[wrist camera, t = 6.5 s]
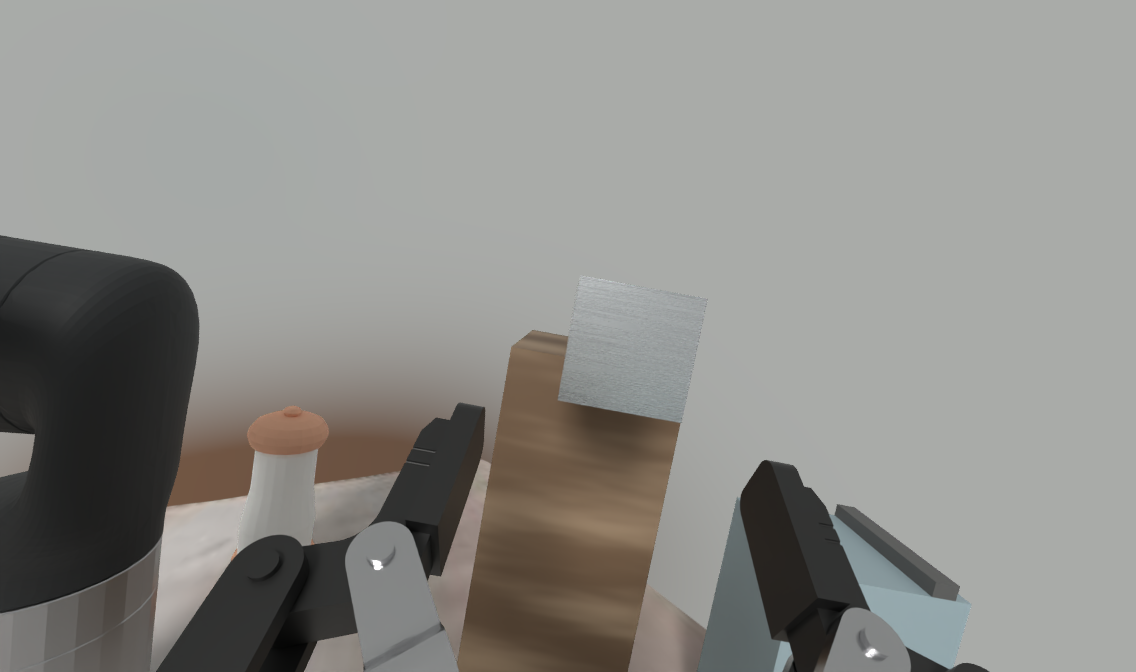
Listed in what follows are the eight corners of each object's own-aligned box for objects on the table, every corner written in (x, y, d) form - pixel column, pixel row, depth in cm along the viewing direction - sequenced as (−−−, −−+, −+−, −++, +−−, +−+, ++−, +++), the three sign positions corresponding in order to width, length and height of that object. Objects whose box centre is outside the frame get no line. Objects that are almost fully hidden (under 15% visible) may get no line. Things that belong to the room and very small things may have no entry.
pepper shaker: (208, 596, 42) (228, 408, 40) (265, 553, 49) (285, 392, 47) (278, 613, 41) (302, 424, 40) (325, 566, 49) (347, 405, 47)
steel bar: (568, 332, 39) (576, 289, 39) (611, 340, 39) (619, 297, 39) (557, 400, 14) (580, 275, 13) (681, 423, 14) (707, 298, 13)
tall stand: (468, 667, 39) (528, 328, 36) (586, 688, 39) (654, 351, 36) (410, 870, 25) (499, 347, 22) (591, 903, 25) (704, 384, 22)
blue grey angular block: (686, 717, 38) (739, 486, 36) (806, 738, 38) (866, 509, 36) (725, 863, 28) (801, 557, 26) (887, 893, 28) (975, 589, 26)
